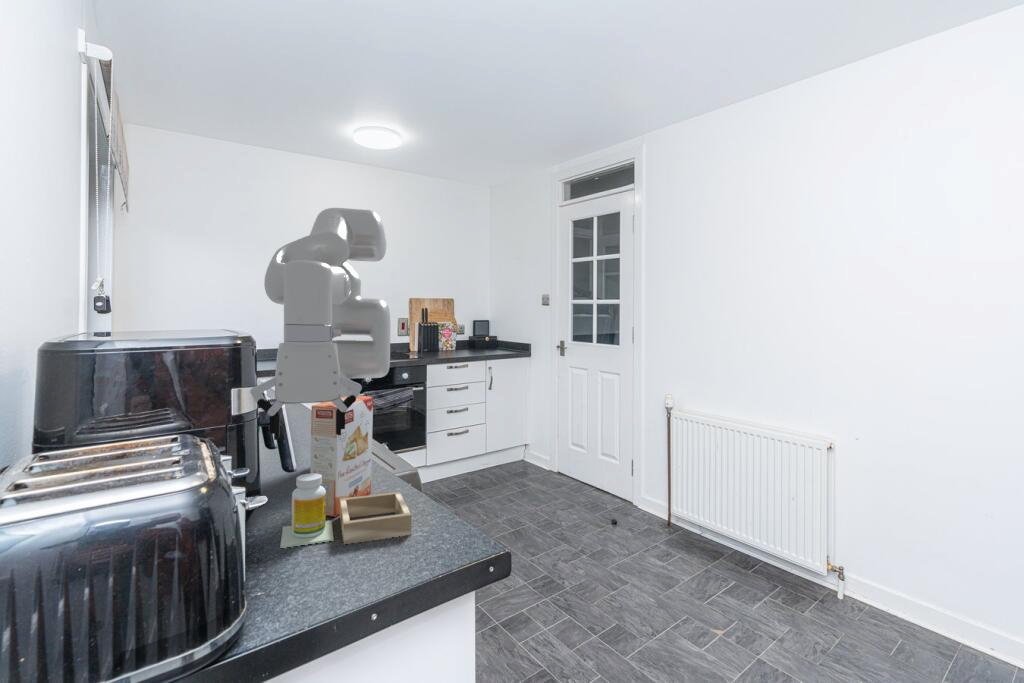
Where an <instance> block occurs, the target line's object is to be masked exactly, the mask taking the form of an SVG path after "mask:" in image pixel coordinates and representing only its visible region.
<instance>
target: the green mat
mask: <svg viewBox="0 0 1024 683" xmlns="http://www.w3.org/2000/svg"><path fill="white" fill-rule="evenodd" d="M291 526H292V525H287V526H286V525H285V526H282V532H281V539H280V547H279V549H280V548H284V549H288V548H287V547H291V548H293V547H292V546H298V547H301V546H300V545H305V546H309V545H308V544H312V545H316V544H315V543H318V544H323V543H322V542H325V543H330V542H329V541H332V542H334V531H333V521H332V520H325V530H324V531H323V532H322V533H321V534H319V535H317V536H314V537H309V538H300V537H295V536H294V535H293V534H292V529H291Z"/></svg>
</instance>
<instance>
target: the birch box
mask: <svg viewBox="0 0 1024 683" xmlns="http://www.w3.org/2000/svg"><path fill="white" fill-rule="evenodd" d="M410 511H411V510H409V507H408V505H407V503H406V501H405V500H404V498H403V496H402V494H401V492H400V491H395V492H386V493H378V494H377V493H375V494H368V495H366V496H359V497H350V498H342V499H340V514H339V522H340V528H341V534H342V541H343V542H344V543H343V546H346V545H345V544H348V545H352V544H351V543H354V544H360V543H359V542H361V543H365V542H366V541H367V542H373V541H372V540H374V541H380V539H381V540H386V538H387V539H393V538H392V537H394V538H400V537H405V536H406V535H407V536H412V513H411V512H410ZM390 513H394V514H391V515H384V516H376V517H369V518H368V517H367V516H375V515H382V514H390ZM359 517H367V518H361V519H353V520H350V519H352V518H359ZM399 536H400V537H399Z"/></svg>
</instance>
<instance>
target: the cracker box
mask: <svg viewBox="0 0 1024 683" xmlns="http://www.w3.org/2000/svg"><path fill="white" fill-rule="evenodd" d="M347 397H348V396H347ZM347 397H343V398H341V399H342V401H344V400H345V399H346V398H347ZM336 410H337V407H336V406H335V405H334V404H333V403H332V402H324V403H321V402H320V403H315V404H313V405H311V412H310V413H311V416H310V417H311V420H310V471H309V472H310V473H317V474H321V475H322V483H321V485H320V486H322V487H324V488H325V491H326V510H325V517H334V518H336V517H337V516H340V499H342V498H350V497H359V496H368V495H370V494H371V493H372V463H373V461H372V459H373V458H372V457H373V455H372V454H373V453H372V452H373V426H374V425H373V421H374V420H373V419H374V418H373V416H374V415H373V414H374V397H373V396H367V395H366V396H365V395H360V396H357V398H356V401H355V402H354V403H353V404H352V405H351V406H350V407H349V408H348V409H347V411H345V429H341V435H337V434H336Z"/></svg>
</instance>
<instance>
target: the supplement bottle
mask: <svg viewBox="0 0 1024 683" xmlns="http://www.w3.org/2000/svg"><path fill="white" fill-rule="evenodd" d="M295 482H296V483H295V485H296V488H295V489H294V490H292V493H291V525H290V526H291V529H292V534H293V535H294V536H295V537H300V538H309V537H314V536H317V535H319V534H321V533H322V532H323V531H324V530H325V521H326V516H325V510H326V491H325V488H324V487H322V486H320V485H321V483H322V475H321V474H317V473H305V474H301V475H298V476H297V477H296V481H295Z"/></svg>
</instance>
